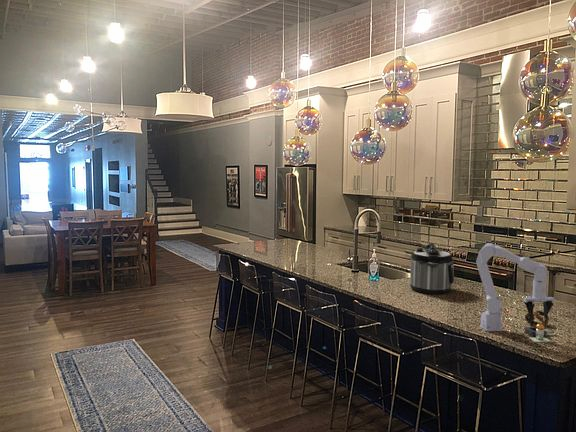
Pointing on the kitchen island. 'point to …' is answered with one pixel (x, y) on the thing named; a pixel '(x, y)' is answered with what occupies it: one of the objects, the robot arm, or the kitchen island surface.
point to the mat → (540, 340)
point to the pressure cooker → (431, 270)
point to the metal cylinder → (539, 331)
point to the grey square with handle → (532, 331)
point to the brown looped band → (537, 317)
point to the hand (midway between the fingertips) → (537, 316)
